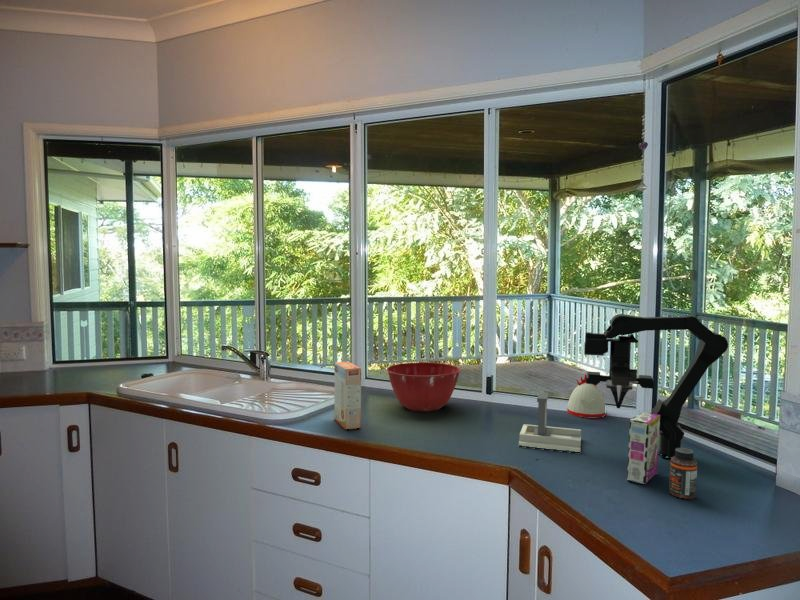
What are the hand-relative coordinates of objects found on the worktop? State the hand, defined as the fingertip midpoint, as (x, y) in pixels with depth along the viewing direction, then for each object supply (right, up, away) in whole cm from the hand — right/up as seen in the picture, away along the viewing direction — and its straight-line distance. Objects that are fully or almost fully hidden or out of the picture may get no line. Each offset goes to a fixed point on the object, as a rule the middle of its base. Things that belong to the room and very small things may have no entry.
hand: (618, 408), depth 169 cm
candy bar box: (-1, -15, -20) cm, 25 cm away
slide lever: (-21, -10, +8) cm, 25 cm away
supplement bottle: (+4, -16, -31) cm, 35 cm away
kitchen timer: (+4, -10, +42) cm, 43 cm away
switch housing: (-18, -12, +8) cm, 23 cm away
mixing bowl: (-57, -9, +49) cm, 76 cm away
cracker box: (-84, -11, +27) cm, 89 cm away
